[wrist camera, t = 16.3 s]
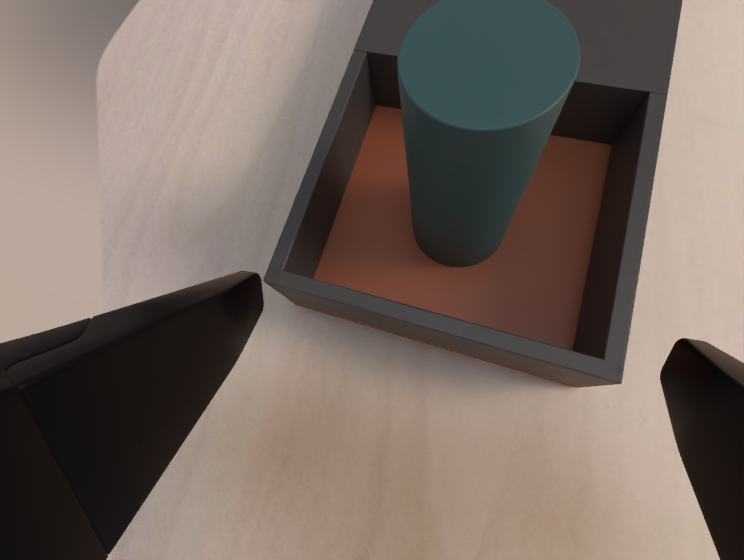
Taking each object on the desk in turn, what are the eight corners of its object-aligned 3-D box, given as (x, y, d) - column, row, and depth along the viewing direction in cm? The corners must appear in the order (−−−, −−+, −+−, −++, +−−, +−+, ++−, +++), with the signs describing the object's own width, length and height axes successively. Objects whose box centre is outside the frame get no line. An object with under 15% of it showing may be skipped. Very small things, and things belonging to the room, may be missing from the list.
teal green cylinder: (524, 229, 22) (622, 54, 11) (452, 285, 22) (476, 164, 11) (463, 168, 24) (494, -40, 13) (395, 219, 24) (362, 53, 12)
